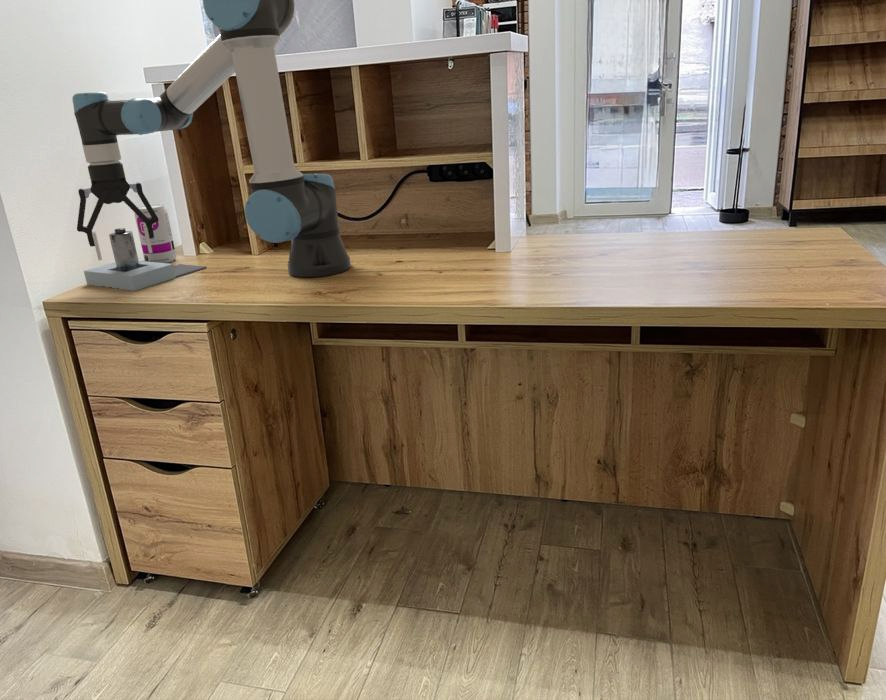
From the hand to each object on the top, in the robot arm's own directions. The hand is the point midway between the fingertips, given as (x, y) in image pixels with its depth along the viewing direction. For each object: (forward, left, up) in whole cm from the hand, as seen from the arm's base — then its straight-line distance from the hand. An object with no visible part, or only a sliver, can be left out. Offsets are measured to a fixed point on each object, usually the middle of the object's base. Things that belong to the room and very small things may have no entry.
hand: (125, 255), depth 171 cm
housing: (0, 0, -6) cm, 6 cm away
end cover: (0, 0, -7) cm, 7 cm away
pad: (-4, -11, -6) cm, 13 cm away
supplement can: (+11, -18, -7) cm, 22 cm away
